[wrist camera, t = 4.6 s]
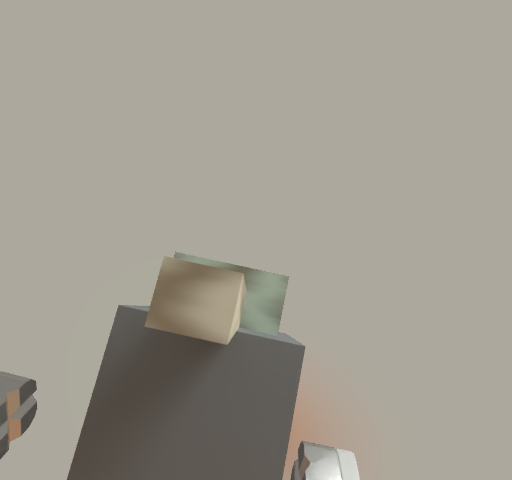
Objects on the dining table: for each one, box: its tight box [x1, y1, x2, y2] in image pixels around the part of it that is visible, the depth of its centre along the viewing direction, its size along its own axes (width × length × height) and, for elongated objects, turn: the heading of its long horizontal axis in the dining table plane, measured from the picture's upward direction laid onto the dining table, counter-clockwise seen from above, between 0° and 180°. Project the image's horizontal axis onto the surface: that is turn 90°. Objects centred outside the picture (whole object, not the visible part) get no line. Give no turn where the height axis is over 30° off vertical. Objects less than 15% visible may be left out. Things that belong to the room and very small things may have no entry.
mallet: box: [145, 252, 289, 345], centre depth 24 cm, size 10×20×5 cm, turn 1°
